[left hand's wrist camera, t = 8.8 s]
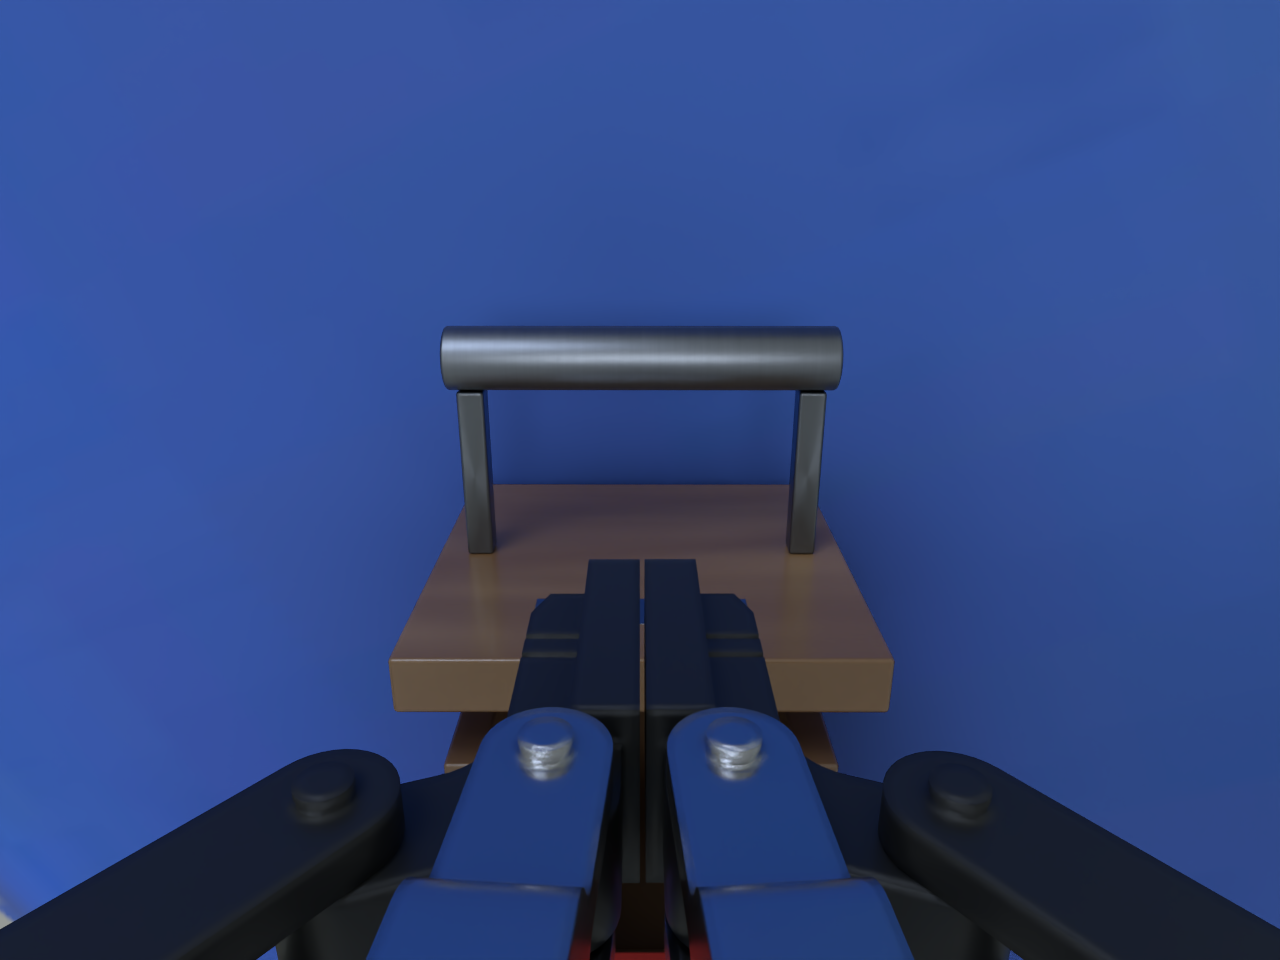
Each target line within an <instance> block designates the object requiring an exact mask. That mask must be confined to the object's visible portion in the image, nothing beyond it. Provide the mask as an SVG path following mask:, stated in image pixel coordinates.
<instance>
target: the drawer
mask: <svg viewBox="0 0 1280 960" xmlns="http://www.w3.org/2000/svg"><path fill="white" fill-rule="evenodd" d="M440 366H441V374H442V379H443V382H444V385H445V387H446V388H447V389H449V390H459V391H458V392H457V394H456V397H457V410H458V423H459V437H460V450H461V463H462V476H463V489H464V502H465V505H464V507H463V509H462V511H461V513H460V515H459V517H458V519H457V521H456V523H455V525H454V527H453V529H452V531H451V533H450V535H449V537H448V540H447V542H446V544H445V546H444V548H443V550H442V552H441V554H440V556H439V558H438V560H437V562H436V564H435V566H434V568H433V570H432V572H431V574H430V576H429V578H428V580H427V582H426V584H425V587H424V589H423V591H422V593H421V595H420V597H419V599H418V601H417V603H416V605H415V607H414V609H413V611H412V613H411V615H410V617H409V619H408V621H407V623H406V625H405V627H404V629H403V631H402V634H401V636H400V638H399V640H398V642H397V644H396V646H395V648H394V650H393V652H392V654H391V656H390V658H389V661H388V663H389V671H390V680H391V688H392V697H393V705H394V709H395V711H397V712H461V713H460V717H459V720H458V723H457V726H456V729H455V732H454V735H453V739H452V742H451V745H450V748H449V751H448V754H447V758H446V761H445V764H444V771H445V773H449V772H452V771H454V770H457V769H460V768H462V767H464V766H466V765H468V764H470V763H472V762H474V759H475V757H476V754H477V751H478V749H479V746H480V744H481V742H482V740H483V738H484V736H485V735H486V734H487V733H488V731H489V730H490V729H491V728H493V727H494V726H495V725H496V724H497V723H499V722H501V721H502V720H504V719H505V718H507V714H508V710H509V706H510V701H511V697H512V693H513V689H514V684H515V680H516V676H517V671H518V667H519V663H520V658H521V657H522V650H523V646H524V641H525V639H526V633H527V628H528V624H529V620H530V615H531V612H532V611H533V610H534V609H535V608H536V607H537V606H538V605H539V604H541V603H542V602H543V601H544V600H545V599H546V598H547V597H548V596H549V595H550V594H584V593H585V585H586V577H587V569H588V561H589V559H640V883H622V902H621V915H620V919H619V922H618V925H617V927H616V928H615V934H616V946H615V952H665V946H664V934H665V899H664V883H646V848H645V721H644V562H645V559H696V565H697V572H698V580H699V587H700V593H734V594H735V595H736V596H737V597H738V598H739V599H740V600H741V601H742V602H743V603H744V604H745V605H746V606H747V607H748V608H749V609H751V610H752V611H753V612H754V617H755V621H756V625H757V629H758V633H759V639H760V641H761V645H762V650H763V657H764V658H765V662H766V666H767V670H768V674H769V678H770V682H771V687H772V691H773V695H774V699H775V703H776V707H777V711H778V715H779V720H780V722H781V723H783V724H784V725H785V726H786V727H787V728H789V729H790V730H791V731H792V733H793V734H794V735H795V736H796V738H797V740H798V742H799V744H800V746H801V749H802V751H803V754H804V756H805V757H807V758H808V759H810V760H811V761H813V762H815V763H817V764H819V765H821V766H823V767H825V768H827V769H830V770H833V771H835V772H838V763H837V760H836V757H835V754H834V750H833V747H832V744H831V741H830V738H829V735H828V732H827V728H826V725H825V722H824V719H823V716H822V713H821V712H887V711H888V709H889V704H890V695H891V687H892V679H893V671H894V663H895V661H894V659H893V657H892V655H891V653H890V651H889V649H888V647H887V644H886V642H885V640H884V638H883V636H882V634H881V632H880V630H879V628H878V626H877V624H876V622H875V620H874V618H873V616H872V614H871V612H870V610H869V608H868V606H867V604H866V602H865V600H864V598H863V596H862V594H861V592H860V590H859V588H858V586H857V584H856V582H855V580H854V578H853V576H852V574H851V572H850V569H849V567H848V565H847V563H846V561H845V559H844V557H843V555H842V553H841V551H840V549H839V547H838V545H837V543H836V541H835V539H834V537H833V535H832V533H831V531H830V529H829V527H828V525H827V523H826V521H825V519H824V517H823V515H822V513H821V511H820V509H819V507H818V498H819V486H820V473H821V460H822V448H823V435H824V423H825V410H826V398H827V394H826V392H825V391H824V390H835V389H837V387H838V385H839V382H840V379H841V375H842V368H843V342H842V336H841V332H840V330H839V328H838V327H836V326H446V327H445V328H444V330H443V332H442V336H441V343H440ZM487 390H796V394H795V409H794V424H793V439H792V454H791V469H790V484H789V485H577V484H493V474H492V459H491V443H490V427H489V411H488V396H487Z"/></svg>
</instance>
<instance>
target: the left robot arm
mask: <svg viewBox="0 0 1280 960" xmlns="http://www.w3.org/2000/svg"><path fill="white" fill-rule="evenodd" d="M644 721H645V848H646V883H664V899H665V934H664V946H665V958H666V960H1008V959H1009V954H1010V950H1011V951H1013V952H1014V953H1016V954H1017V955H1018V956H1020V957H1021V958H1022V959H1024V960H1280V929H1278V928H1277V927H1275V926H1273V925H1271V924H1270V923H1268V922H1266V921H1264V920H1263V919H1261V918H1259V917H1257V916H1256V915H1254V914H1252V913H1250V912H1249V911H1247V910H1245V909H1243V908H1242V907H1240V906H1238V905H1236V904H1235V903H1233V902H1231V901H1229V900H1228V899H1226V898H1224V897H1222V896H1221V895H1219V894H1217V893H1215V892H1214V891H1212V890H1210V889H1208V888H1207V887H1205V886H1203V885H1201V884H1200V883H1198V882H1196V881H1194V880H1193V879H1191V878H1189V877H1187V876H1186V875H1184V874H1182V873H1180V872H1179V871H1177V870H1175V869H1173V868H1172V867H1170V866H1168V865H1166V864H1165V863H1163V862H1161V861H1159V860H1158V859H1156V858H1154V857H1152V856H1151V855H1149V854H1147V853H1145V852H1144V851H1142V850H1140V849H1138V848H1137V847H1135V846H1133V845H1131V844H1130V843H1128V842H1126V841H1124V840H1123V839H1121V838H1119V837H1117V836H1116V835H1114V834H1112V833H1110V832H1109V831H1107V830H1105V829H1103V828H1102V827H1100V826H1098V825H1096V824H1095V823H1093V822H1091V821H1089V820H1088V819H1086V818H1084V817H1082V816H1081V815H1079V814H1077V813H1075V812H1074V811H1072V810H1070V809H1068V808H1067V807H1065V806H1063V805H1062V804H1060V803H1058V802H1056V801H1055V800H1053V799H1051V798H1049V797H1048V796H1046V795H1044V794H1042V793H1041V792H1039V791H1037V790H1035V789H1034V788H1032V787H1030V786H1028V785H1027V784H1025V783H1023V782H1021V781H1020V780H1018V779H1016V778H1014V777H1013V776H1011V775H1009V774H1007V773H1006V772H1004V771H1002V770H1000V769H999V768H997V767H995V766H993V765H991V764H989V763H987V762H984V761H982V760H979V759H977V758H974V757H970V756H967V755H963V754H958V753H953V752H944V751H925V752H919V753H914V754H911V755H908V756H905V757H903V758H901V759H899V760H897V761H896V762H895V763H894V764H893V765H891V767H890V768H889V769H888V771H887V772H886V775H885V777H884V781H883V783H880V782H876V781H872V780H867V779H863V778H858V777H854V776H850V775H846V774H842V773H839V772H835V771H833V770H830V769H827V768H825V767H823V766H821V765H819V764H817V763H815V762H813V761H811V760H810V759H808V758H807V757H805V756H804V754H803V751H802V749H801V746H800V744H799V742H798V740H797V738H796V736H795V735H794V734H793V733H792V731H791V730H790V729H789V728H787V727H786V726H785V725H784V724H783V723H781V722H780V720H779V715H778V711H777V707H776V703H775V699H774V695H773V691H772V687H771V682H770V678H769V674H768V670H767V666H766V662H765V658H764V657H763V650H762V645H761V641H760V639H759V633H758V629H757V625H756V621H755V617H754V612H753V611H752V610H751V609H749V608H748V607H747V606H746V605H745V604H744V603H743V602H742V601H741V600H740V599H739V598H738V597H737V596H736V595H735V594H734V593H700V587H699V580H698V572H697V565H696V559H645V562H644ZM622 883H640V559H589V561H588V569H587V577H586V585H585V593H584V594H550V595H549V596H548V597H547V598H546V599H545V600H544V601H543V602H542V603H541V604H539V605H538V606H537V607H536V608H535V609H534V610H533V611H532V612H531V615H530V620H529V624H528V628H527V633H526V639H525V641H524V646H523V650H522V657H521V658H520V663H519V667H518V671H517V676H516V680H515V684H514V689H513V693H512V697H511V701H510V706H509V710H508V714H507V718H505V719H504V720H502V721H501V722H499V723H497V724H496V725H495V726H494V727H493V728H491V729H490V730H489V731H488V733H487V734H486V735H485V736H484V738H483V740H482V742H481V744H480V746H479V749H478V751H477V754H476V757H475V759H474V762H472V763H470V764H468V765H466V766H464V767H462V768H460V769H457V770H454V771H452V772H449V773H445V774H442V775H438V776H434V777H429V778H425V779H421V780H416V781H412V782H407V783H403V784H400V777H399V775H398V772H397V770H396V768H395V767H394V766H393V764H392V763H391V762H389V761H388V760H387V759H386V758H384V757H382V756H380V755H378V754H375V753H372V752H369V751H363V750H357V749H341V750H331V751H325V752H320V753H317V754H313V755H310V756H307V757H304V758H302V759H299V760H297V761H295V762H293V763H291V764H289V765H287V766H285V767H283V768H281V769H280V770H278V771H276V772H274V773H273V774H271V775H269V776H267V777H266V778H264V779H262V780H260V781H259V782H257V783H255V784H253V785H252V786H250V787H248V788H246V789H245V790H243V791H241V792H240V793H238V794H236V795H234V796H233V797H231V798H229V799H227V800H226V801H224V802H222V803H220V804H219V805H217V806H215V807H213V808H212V809H210V810H208V811H206V812H205V813H203V814H201V815H199V816H198V817H196V818H194V819H192V820H191V821H189V822H187V823H185V824H184V825H182V826H180V827H178V828H177V829H175V830H173V831H171V832H170V833H168V834H166V835H164V836H163V837H161V838H159V839H157V840H156V841H154V842H152V843H150V844H149V845H147V846H145V847H143V848H142V849H140V850H138V851H136V852H135V853H133V854H131V855H129V856H128V857H126V858H124V859H122V860H121V861H119V862H117V863H115V864H114V865H112V866H110V867H108V868H107V869H105V870H103V871H101V872H100V873H98V874H96V875H94V876H93V877H91V878H89V879H87V880H86V881H84V882H82V883H80V884H79V885H77V886H75V887H73V888H72V889H70V890H68V891H66V892H65V893H63V894H61V895H59V896H58V897H56V898H54V899H52V900H51V901H49V902H47V903H45V904H44V905H42V906H40V907H38V908H37V909H35V910H33V911H31V912H30V913H28V914H26V915H24V916H23V917H21V918H19V919H17V920H16V921H14V922H12V923H10V924H9V925H7V926H5V927H3V928H2V929H0V960H256V959H258V958H259V957H260V956H262V955H263V954H265V953H266V952H267V951H269V950H270V949H271V948H273V947H274V946H276V951H277V956H278V960H614V958H615V946H616V934H615V928H616V927H617V925H618V922H619V919H620V915H621V902H622Z"/></svg>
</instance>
